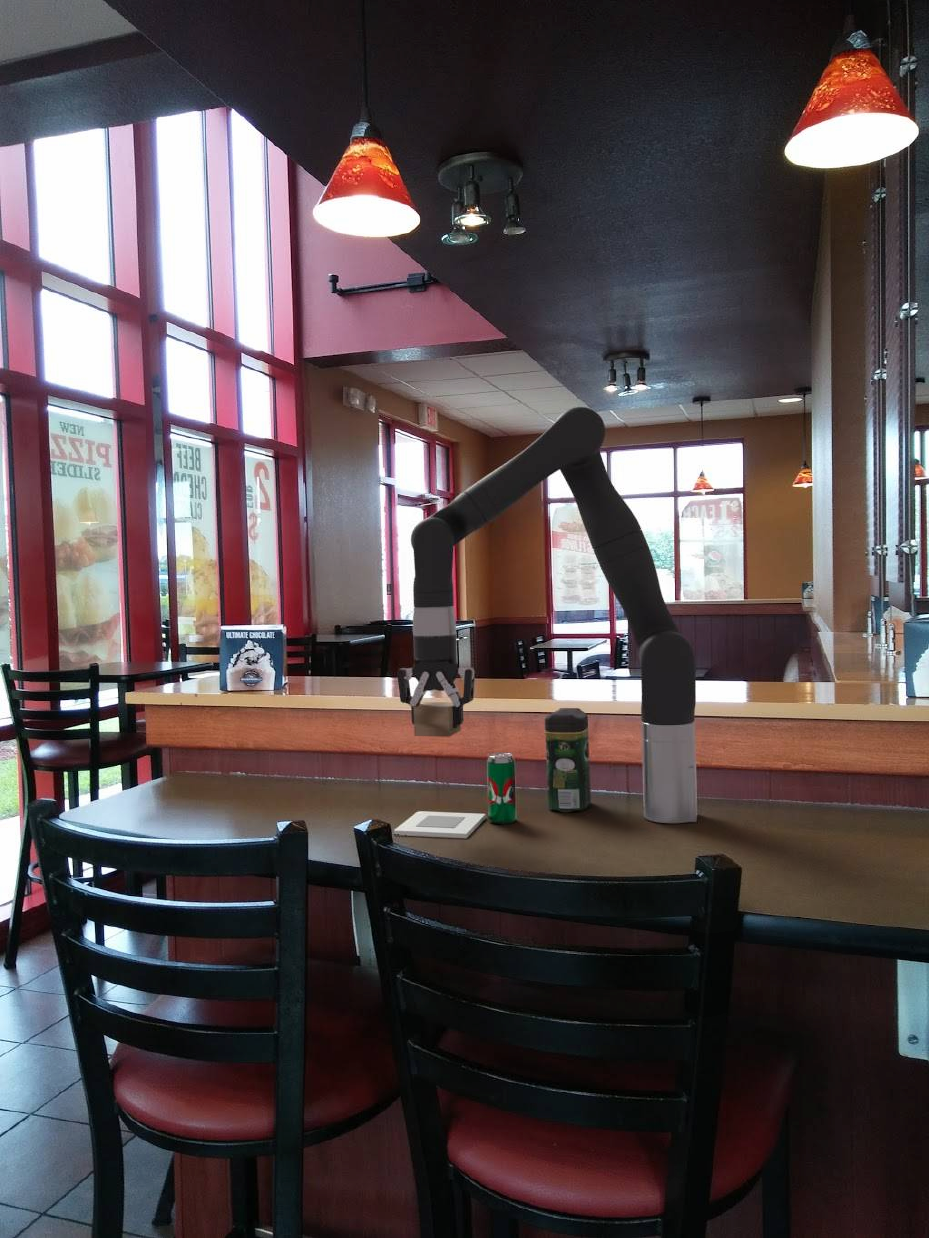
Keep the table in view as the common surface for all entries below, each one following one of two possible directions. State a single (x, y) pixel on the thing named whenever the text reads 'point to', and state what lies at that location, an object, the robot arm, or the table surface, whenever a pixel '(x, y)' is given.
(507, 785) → the soda can
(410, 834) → the board
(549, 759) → the coffee jar
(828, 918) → the table surface
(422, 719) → the walnut block
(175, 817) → the table surface
